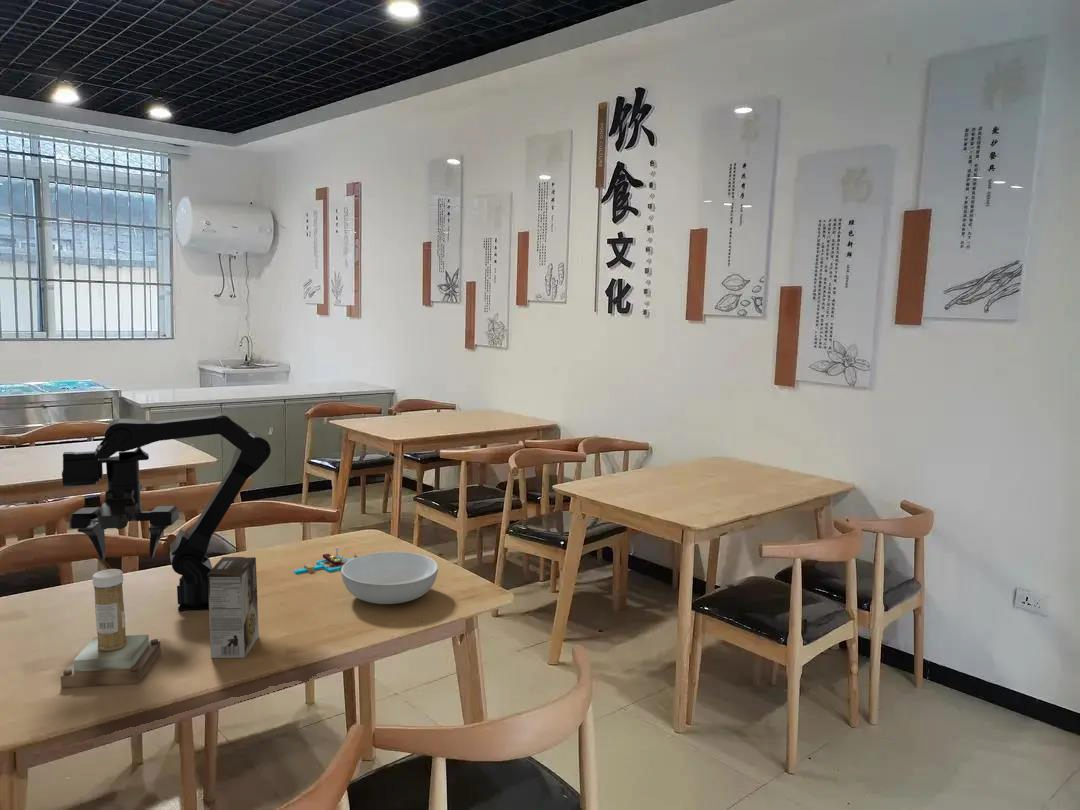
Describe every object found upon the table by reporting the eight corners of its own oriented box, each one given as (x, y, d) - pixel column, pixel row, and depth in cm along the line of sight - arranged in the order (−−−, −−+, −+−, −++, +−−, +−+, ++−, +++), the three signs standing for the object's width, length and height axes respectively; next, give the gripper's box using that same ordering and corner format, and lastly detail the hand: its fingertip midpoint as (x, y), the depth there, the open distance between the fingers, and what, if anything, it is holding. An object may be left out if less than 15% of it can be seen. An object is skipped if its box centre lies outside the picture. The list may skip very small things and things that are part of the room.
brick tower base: (160, 651, 142) (159, 630, 141) (138, 683, 130) (137, 660, 130) (90, 654, 140) (88, 634, 139) (61, 687, 128) (59, 665, 128)
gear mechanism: (286, 569, 187) (301, 580, 180) (286, 547, 186) (301, 558, 179) (362, 553, 200) (379, 563, 192) (362, 533, 199) (379, 542, 192)
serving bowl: (371, 624, 156) (371, 591, 155) (324, 593, 171) (324, 563, 170) (456, 599, 169) (456, 569, 168) (406, 573, 185) (406, 545, 184)
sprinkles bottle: (132, 642, 136) (128, 568, 135) (114, 653, 132) (110, 578, 130) (109, 639, 137) (105, 566, 135) (90, 651, 133) (85, 575, 131)
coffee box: (225, 637, 148) (222, 556, 146) (259, 636, 149) (257, 555, 147) (209, 659, 139) (205, 573, 137) (245, 658, 140) (243, 572, 138)
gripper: (54, 493, 144) (59, 574, 146) (161, 491, 147) (164, 570, 150) (79, 480, 155) (83, 554, 157) (177, 478, 158) (181, 551, 160)
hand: (127, 558), depth 156 cm, fingers open, 9 cm apart
